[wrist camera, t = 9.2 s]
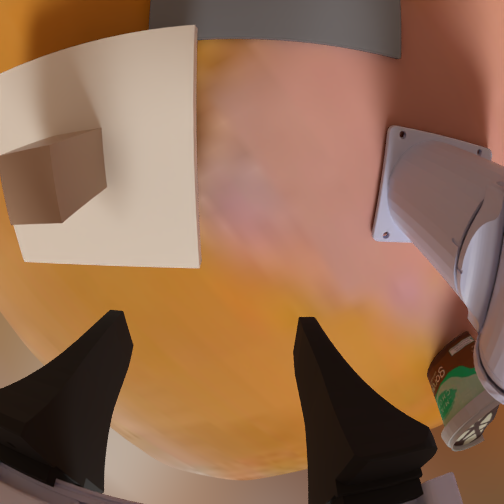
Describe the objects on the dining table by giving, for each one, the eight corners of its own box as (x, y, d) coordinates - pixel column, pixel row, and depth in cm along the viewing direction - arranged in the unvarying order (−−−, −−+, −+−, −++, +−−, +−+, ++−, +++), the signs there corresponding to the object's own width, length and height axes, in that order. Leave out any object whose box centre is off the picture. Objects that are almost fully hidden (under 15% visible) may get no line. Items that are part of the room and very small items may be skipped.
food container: (420, 344, 26) (459, 424, 17) (468, 321, 25) (514, 391, 16) (415, 401, 32) (439, 464, 23) (455, 383, 31) (483, 441, 22)
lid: (197, 28, 11) (170, -5, 6) (201, 260, 17) (185, 324, 12) (3, 75, 11) (-59, 84, 6) (30, 255, 16) (-13, 301, 12)
